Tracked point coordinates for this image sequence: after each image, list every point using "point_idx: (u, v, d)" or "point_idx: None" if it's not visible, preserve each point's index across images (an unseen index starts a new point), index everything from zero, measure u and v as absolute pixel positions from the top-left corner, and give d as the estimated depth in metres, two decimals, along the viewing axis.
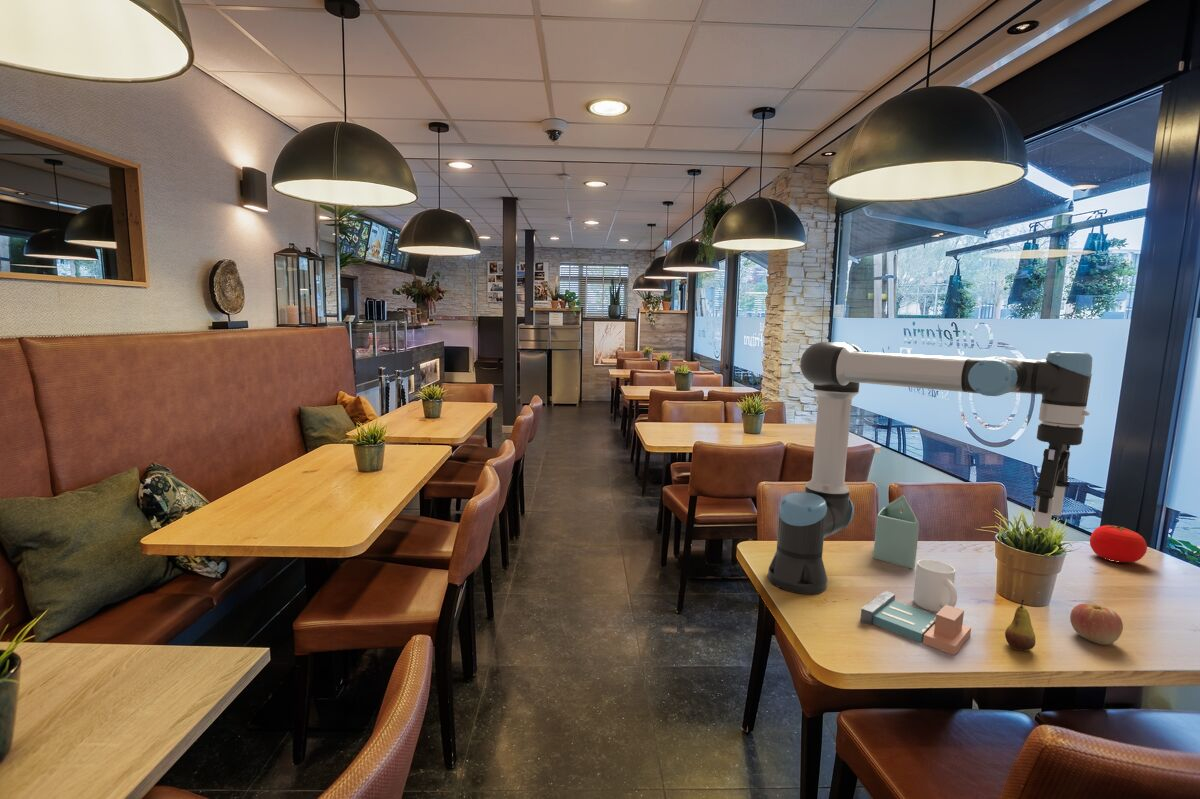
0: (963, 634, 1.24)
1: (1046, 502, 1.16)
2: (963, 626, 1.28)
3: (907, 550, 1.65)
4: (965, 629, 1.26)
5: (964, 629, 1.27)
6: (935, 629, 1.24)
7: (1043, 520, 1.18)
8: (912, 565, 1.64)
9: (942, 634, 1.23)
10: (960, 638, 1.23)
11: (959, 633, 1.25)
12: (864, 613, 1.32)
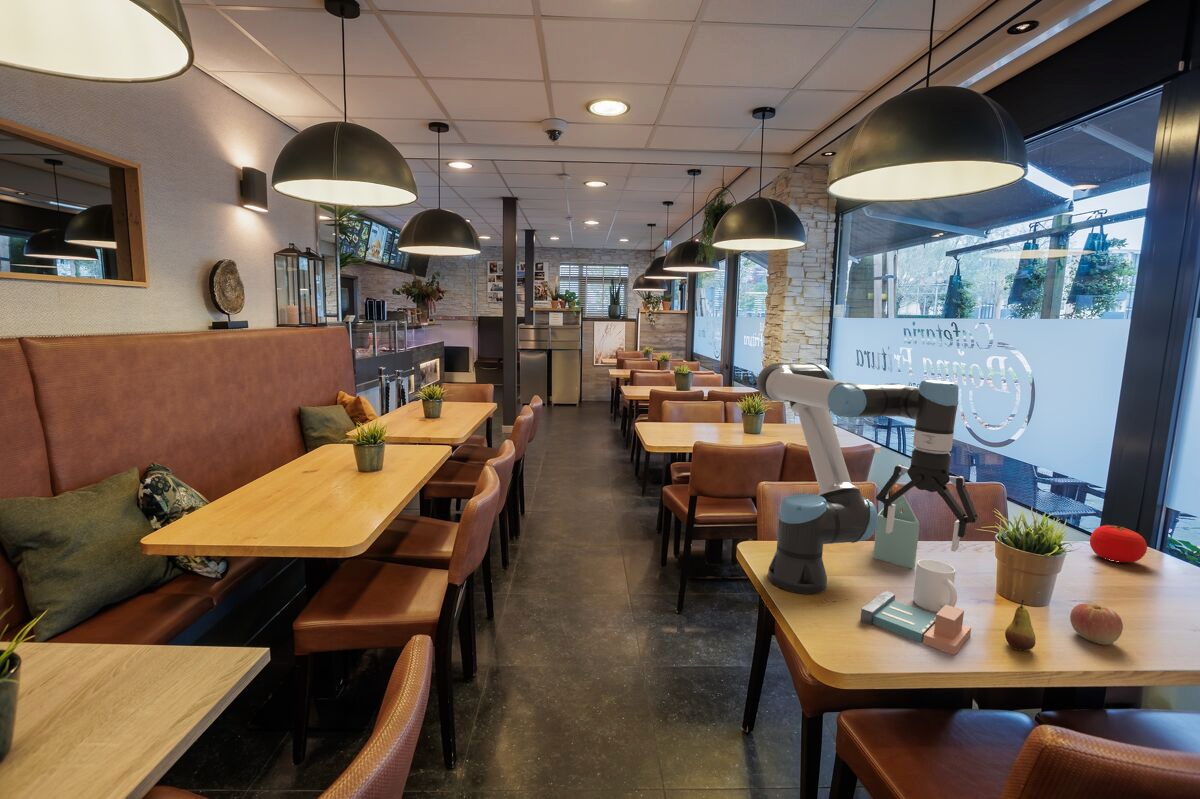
0: (963, 634, 1.24)
1: (884, 507, 1.34)
2: (963, 626, 1.28)
3: (907, 550, 1.65)
4: (965, 629, 1.26)
5: (964, 629, 1.27)
6: (935, 629, 1.24)
7: None
8: (912, 565, 1.64)
9: (942, 634, 1.23)
10: (960, 638, 1.23)
11: (959, 633, 1.25)
12: (864, 613, 1.32)
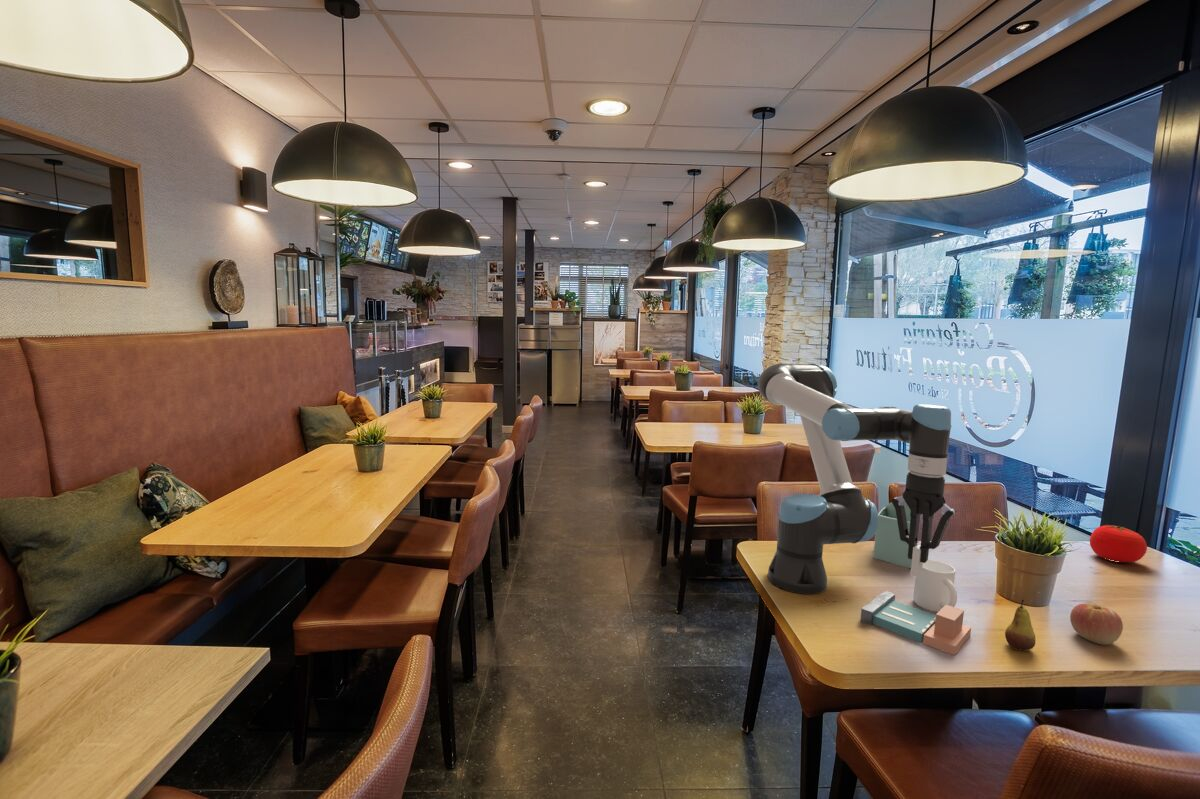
0: (963, 634, 1.24)
1: None
2: (963, 626, 1.28)
3: (907, 550, 1.65)
4: (965, 629, 1.26)
5: (964, 629, 1.27)
6: (935, 629, 1.24)
7: None
8: None
9: (942, 634, 1.23)
10: (960, 638, 1.23)
11: (959, 633, 1.25)
12: (864, 613, 1.32)
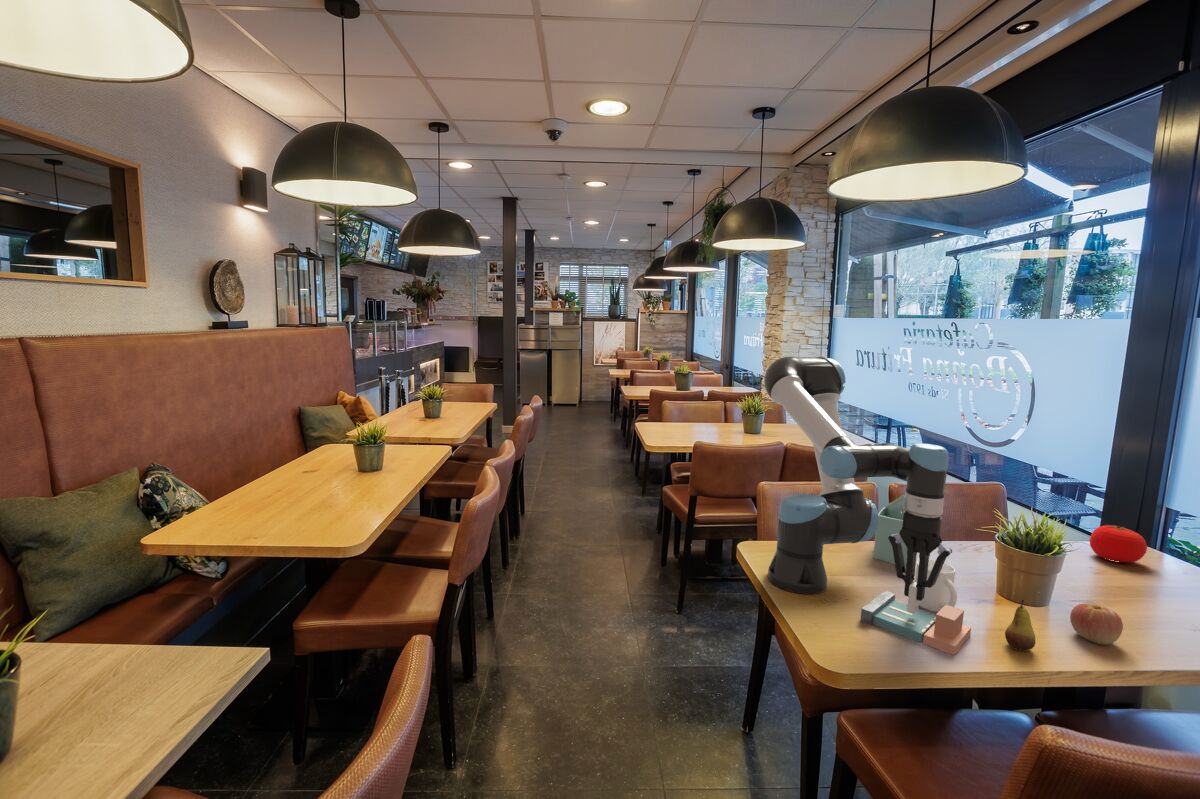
0: (963, 634, 1.24)
1: (905, 585, 1.31)
2: (963, 626, 1.28)
3: None
4: (965, 629, 1.26)
5: (964, 629, 1.27)
6: (935, 629, 1.24)
7: None
8: None
9: (942, 634, 1.23)
10: (960, 638, 1.23)
11: (959, 633, 1.25)
12: (864, 613, 1.32)
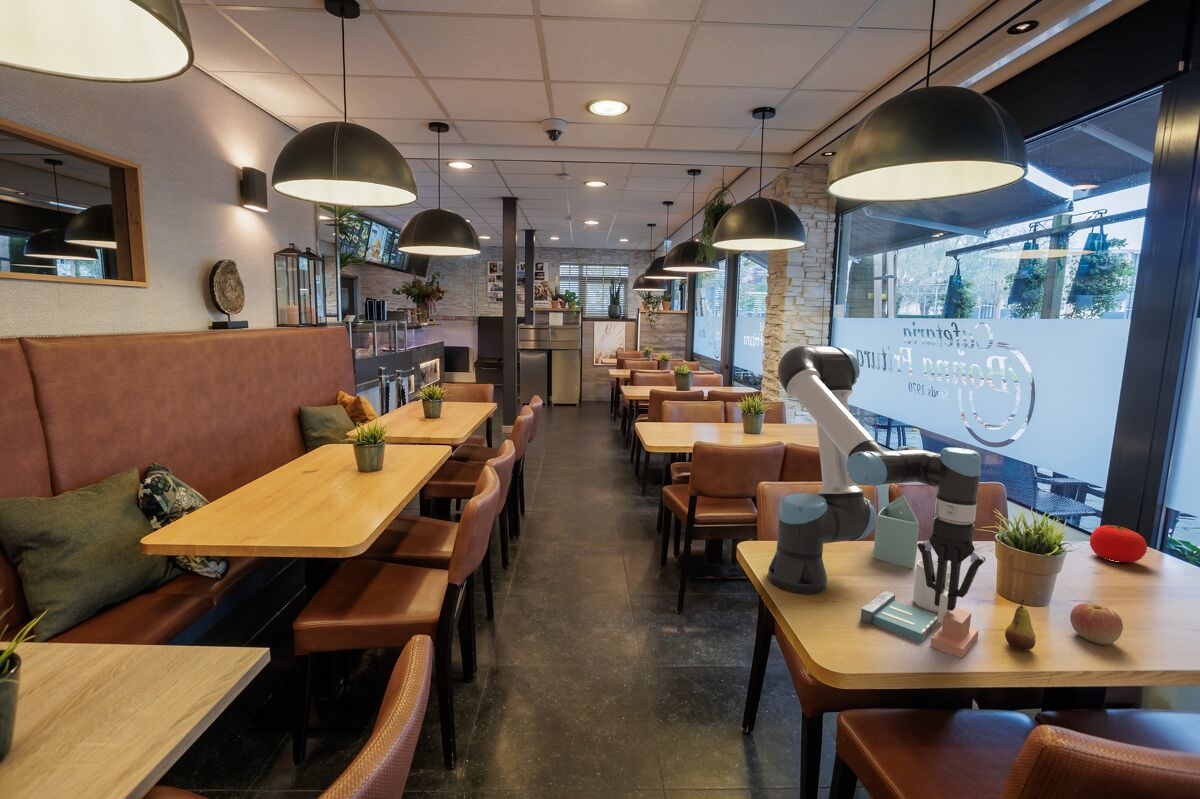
0: (970, 637, 1.23)
1: None
2: (970, 629, 1.27)
3: (907, 550, 1.65)
4: (972, 632, 1.25)
5: (971, 631, 1.26)
6: (942, 632, 1.23)
7: None
8: (912, 565, 1.64)
9: (949, 637, 1.22)
10: (968, 641, 1.22)
11: (966, 636, 1.24)
12: (864, 613, 1.32)
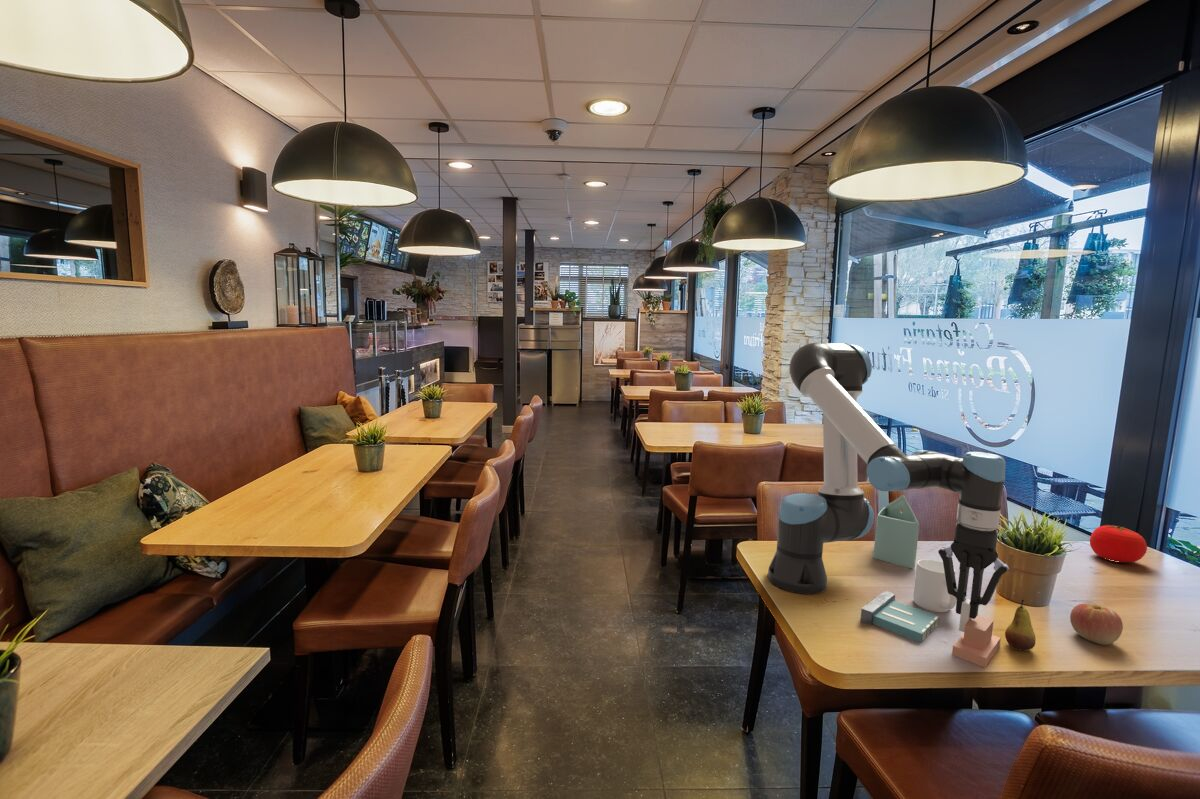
0: (993, 645, 1.20)
1: None
2: (992, 636, 1.24)
3: (907, 550, 1.65)
4: (995, 639, 1.22)
5: (993, 639, 1.23)
6: (964, 640, 1.20)
7: None
8: (912, 565, 1.64)
9: (971, 645, 1.19)
10: (990, 649, 1.18)
11: (989, 644, 1.21)
12: (864, 613, 1.32)
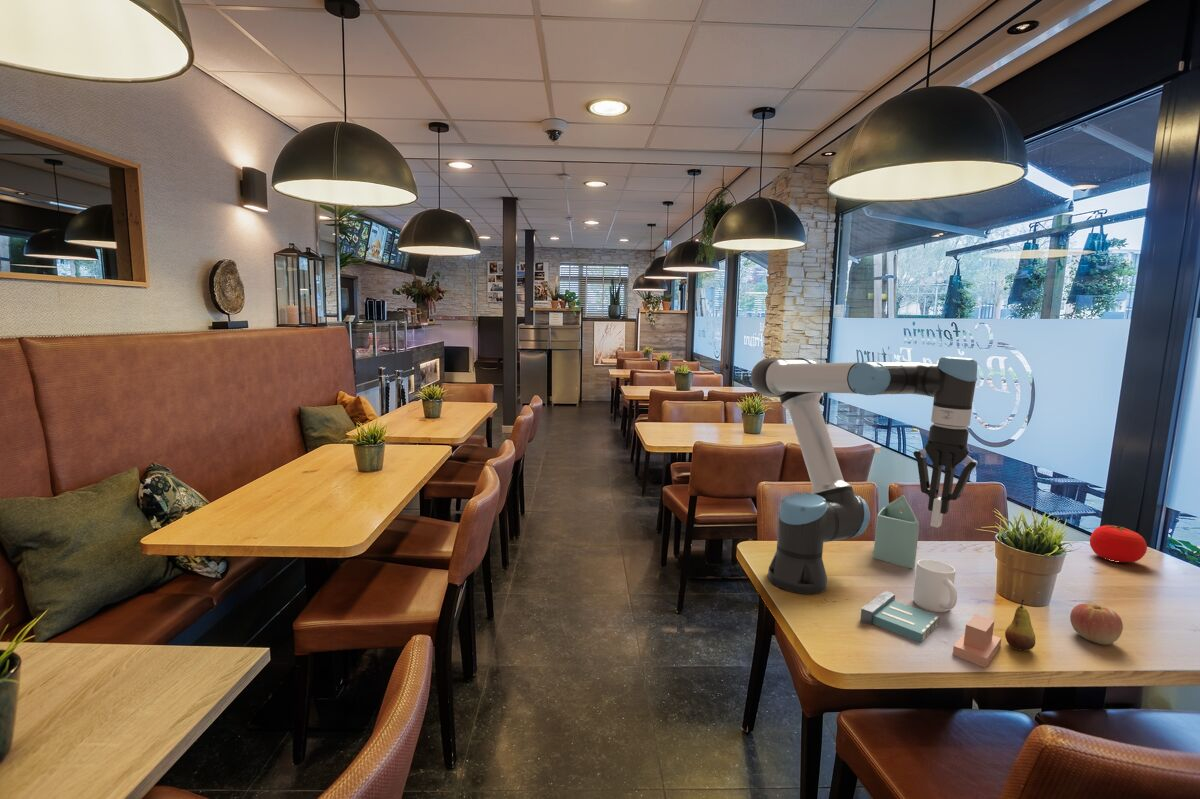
0: (994, 645, 1.20)
1: (929, 500, 1.31)
2: (993, 637, 1.24)
3: (907, 550, 1.65)
4: (995, 640, 1.22)
5: (994, 639, 1.22)
6: (965, 640, 1.20)
7: None
8: (912, 565, 1.64)
9: (972, 645, 1.19)
10: (991, 649, 1.18)
11: (990, 644, 1.20)
12: (864, 613, 1.32)
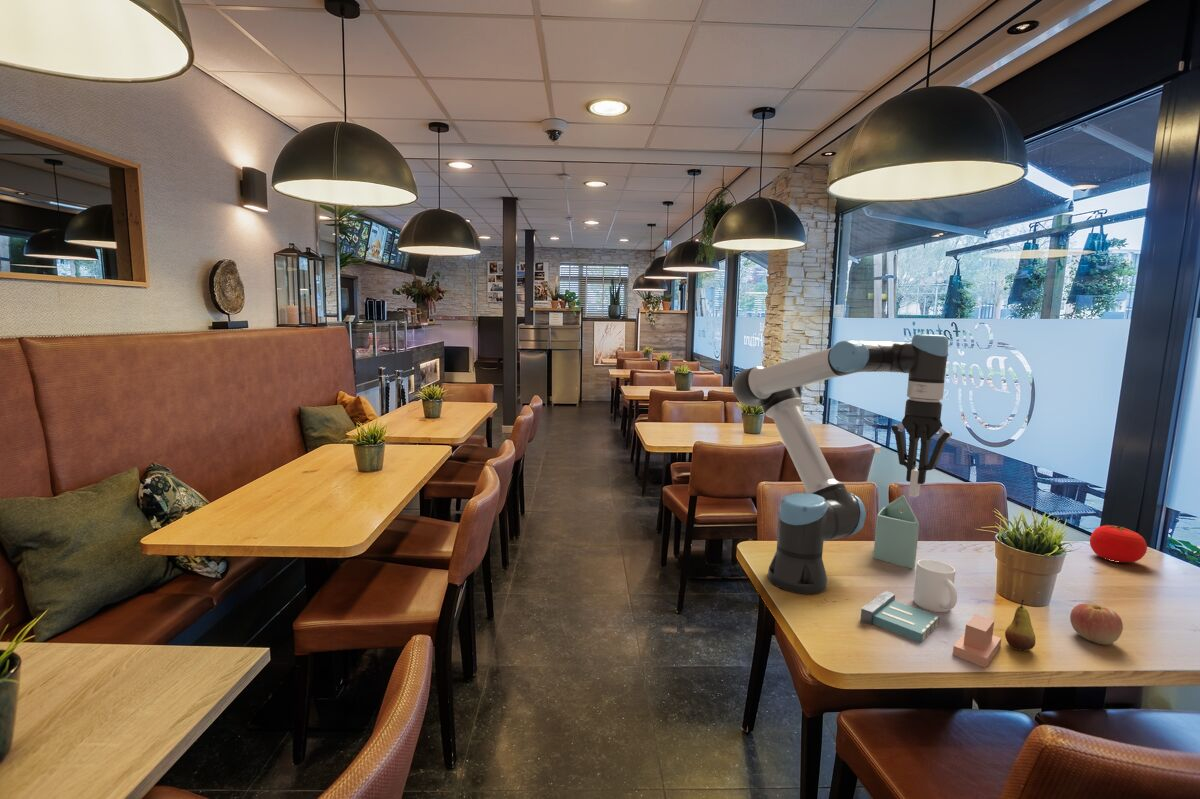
0: (994, 645, 1.20)
1: (907, 471, 1.38)
2: (993, 637, 1.24)
3: (907, 550, 1.65)
4: (995, 640, 1.22)
5: (994, 639, 1.22)
6: (965, 640, 1.20)
7: None
8: (912, 565, 1.64)
9: (972, 645, 1.19)
10: (991, 649, 1.18)
11: (990, 644, 1.20)
12: (864, 613, 1.32)
